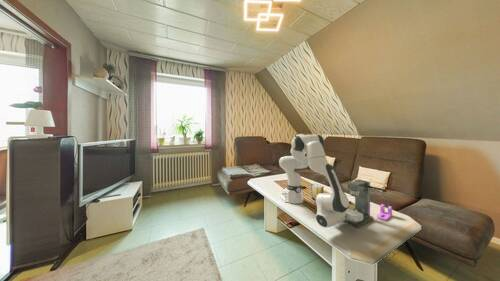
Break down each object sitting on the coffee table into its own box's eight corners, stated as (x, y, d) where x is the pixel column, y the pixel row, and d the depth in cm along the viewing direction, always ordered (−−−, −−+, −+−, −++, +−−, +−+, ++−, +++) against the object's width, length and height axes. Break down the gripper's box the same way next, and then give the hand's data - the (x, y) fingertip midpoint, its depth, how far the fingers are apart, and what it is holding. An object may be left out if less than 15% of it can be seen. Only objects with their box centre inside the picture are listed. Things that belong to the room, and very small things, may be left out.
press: (373, 234, 97) (373, 191, 96) (339, 219, 114) (339, 182, 113) (387, 225, 106) (387, 185, 105) (354, 213, 123) (354, 178, 122)
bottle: (343, 216, 111) (344, 200, 110) (349, 214, 112) (349, 199, 112) (350, 219, 106) (350, 203, 106) (356, 218, 108) (356, 202, 107)
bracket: (382, 212, 122) (382, 203, 122) (392, 215, 118) (392, 205, 117) (375, 218, 115) (375, 208, 114) (385, 221, 110) (385, 211, 110)
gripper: (356, 215, 93) (368, 209, 100) (323, 203, 111) (336, 198, 118) (356, 226, 94) (368, 220, 101) (323, 212, 111) (336, 207, 118)
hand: (351, 208), depth 109 cm, fingers closed on bottle, 5 cm apart
